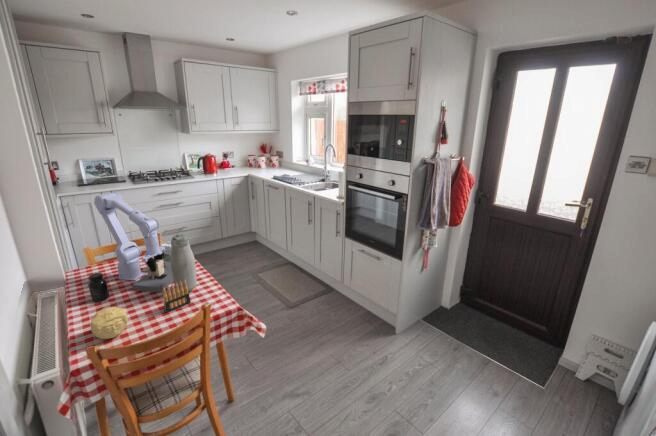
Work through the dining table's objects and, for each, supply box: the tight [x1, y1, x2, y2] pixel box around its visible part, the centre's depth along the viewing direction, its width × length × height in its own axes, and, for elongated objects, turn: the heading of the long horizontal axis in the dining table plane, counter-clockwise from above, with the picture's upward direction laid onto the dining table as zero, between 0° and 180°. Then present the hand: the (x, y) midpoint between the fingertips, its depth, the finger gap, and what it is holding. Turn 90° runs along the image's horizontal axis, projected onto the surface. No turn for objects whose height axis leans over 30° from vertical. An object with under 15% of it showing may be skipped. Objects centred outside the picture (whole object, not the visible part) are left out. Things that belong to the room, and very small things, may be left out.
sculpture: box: [89, 306, 129, 340], centre depth 122 cm, size 11×12×11 cm
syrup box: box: [160, 241, 171, 269], centre depth 174 cm, size 6×6×14 cm
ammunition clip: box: [162, 279, 191, 314], centre depth 139 cm, size 11×2×12 cm, turn 138°
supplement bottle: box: [87, 272, 111, 303], centre depth 144 cm, size 7×7×12 cm
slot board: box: [131, 268, 174, 293], centre depth 161 cm, size 14×18×3 cm
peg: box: [145, 259, 164, 276], centre depth 159 cm, size 6×4×7 cm, turn 82°
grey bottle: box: [170, 233, 198, 292], centre depth 150 cm, size 10×10×28 cm
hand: (156, 269), depth 159 cm, fingers closed on peg, 4 cm apart
